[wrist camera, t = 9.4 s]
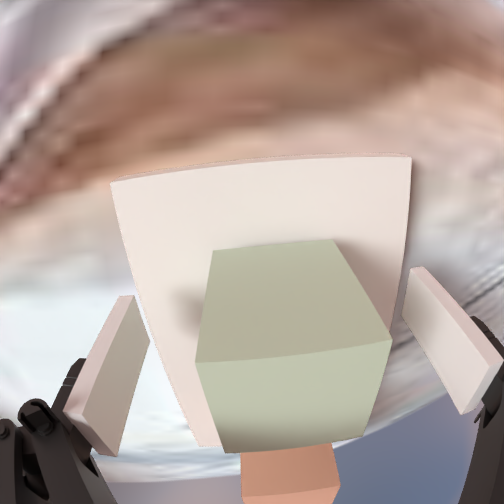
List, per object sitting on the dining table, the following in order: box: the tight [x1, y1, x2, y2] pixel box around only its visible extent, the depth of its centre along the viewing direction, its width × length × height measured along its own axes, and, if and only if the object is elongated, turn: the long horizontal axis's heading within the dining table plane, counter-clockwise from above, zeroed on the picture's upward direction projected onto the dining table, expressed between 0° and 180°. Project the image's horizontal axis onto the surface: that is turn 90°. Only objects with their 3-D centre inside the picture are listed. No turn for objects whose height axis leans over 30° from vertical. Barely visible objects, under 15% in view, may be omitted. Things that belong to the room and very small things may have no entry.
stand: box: [110, 153, 412, 504], centre depth 15 cm, size 14×22×9 cm, turn 5°
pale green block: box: [195, 239, 393, 453], centre depth 12 cm, size 5×5×7 cm
